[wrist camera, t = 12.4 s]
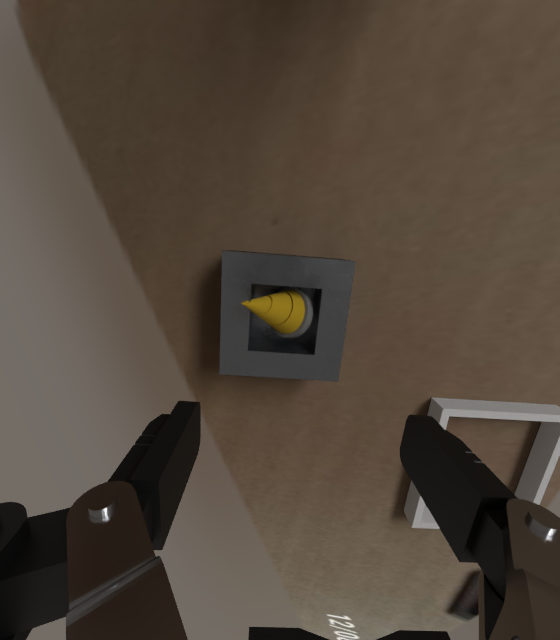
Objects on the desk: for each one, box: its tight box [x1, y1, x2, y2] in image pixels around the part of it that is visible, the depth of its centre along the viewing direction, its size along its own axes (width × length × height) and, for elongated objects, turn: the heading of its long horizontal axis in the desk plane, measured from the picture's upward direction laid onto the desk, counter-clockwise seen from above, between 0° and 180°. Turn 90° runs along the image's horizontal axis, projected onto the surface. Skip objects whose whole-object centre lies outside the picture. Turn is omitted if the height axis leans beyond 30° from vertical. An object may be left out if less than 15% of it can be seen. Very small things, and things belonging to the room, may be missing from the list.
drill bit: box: [242, 287, 313, 338], centre depth 27 cm, size 5×5×10 cm
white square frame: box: [404, 398, 560, 529], centre depth 37 cm, size 19×17×2 cm
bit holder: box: [219, 250, 356, 381], centre depth 29 cm, size 12×12×6 cm
